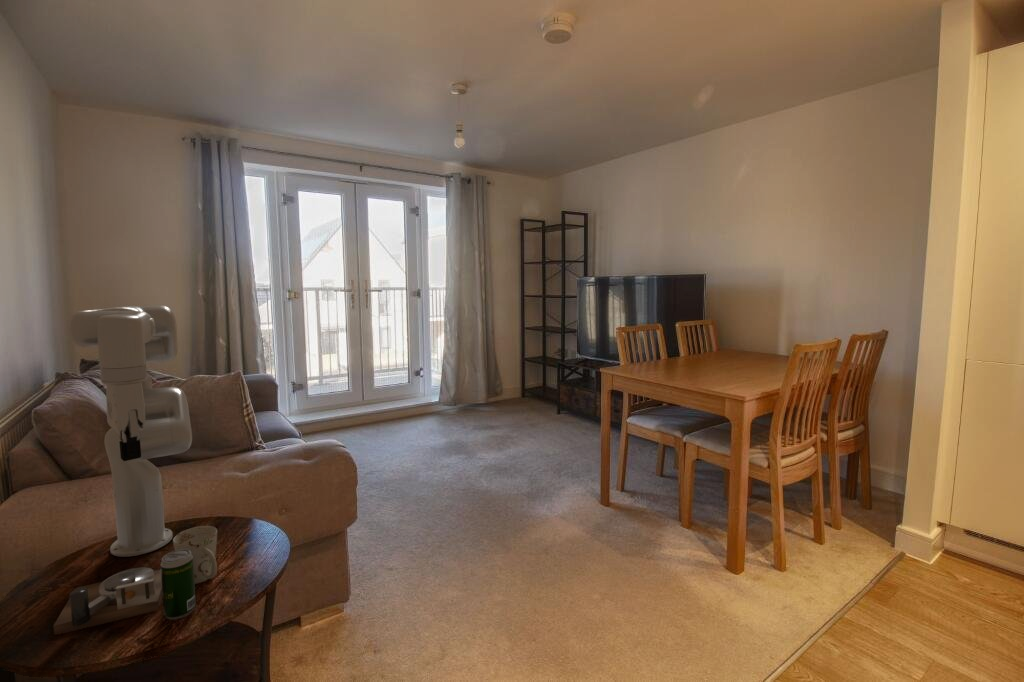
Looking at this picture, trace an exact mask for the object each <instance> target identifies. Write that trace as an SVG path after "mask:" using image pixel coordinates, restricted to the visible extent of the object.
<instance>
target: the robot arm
mask: <svg viewBox="0 0 1024 682" xmlns="http://www.w3.org/2000/svg"><path fill="white" fill-rule="evenodd" d="M70 318H71V319H70V321H69V326H68V327H69V334H70V337H71V339H72V341H73V343H74V344H75V345H77V346H78V347H82V348H93V347H95V348H96V347H97V349H98V350H97V351H98V361H99V362H98V363H99V370H100V382H101V384H102V385H106V386H105V391H106V392H105V395H106V396H105V398H106V399H105V400H106V401H105V402H106V421H107V422H106V423H107V424H108V425H109V427H110V428H109V430H107V432H106V433H105V435H104V448H105V451H106V455H107V457H108V461H109V462H108V463H109V466H110V471H111V477H112V478H111V479H112V487H113V500H114V511H115V513H114V514H115V521H116V522H115V524H116V534H117V539H116V540H115V541H114V542H113V543H112V544H111V545H110V549H109V550H110V554H111V555H113V556H116V557H120V558H123V557H124V558H126V557H135V556H141V555H145V554H148V553H152V552H154V551H156V550H159V549H160V548H162V547H164V546H166V545H167V544H168V543H170V542H171V540H173V538H174V537H173V536H174V535H173V531H172V530H171V529H170V528H166V527H165V515H164V512H165V511H164V499H163V498H164V497H163V488H162V475H161V472H160V470H159V469H158V467H157V466H155V465H154V464H153V463H152V462H151V461H150V460H149V459H153V458H160V457H167V456H172V455H177V454H183V453H185V452H187V451H188V450H189V449H190V448H191V446H192V441H193V432H192V431H193V430H192V425H191V424H192V423H191V418H190V417H191V416H190V408H189V403H188V398H187V395H186V393H185V392H184V390H183V389H182V388H180V387H176V386H175V387H174V386H167V387H157V388H153V380H152V378H151V377H150V376H149V375H148V373H147V372H148V371H147V364H149V363H151V364H153V363H164V362H169V361H173V360H174V359H175V358H176V357H177V354H178V330H177V329H178V327H177V321H176V316H175V314H174V312H173V310H172V309H171V308H170V307H168V306H166V305H161V304H160V305H157V304H156V305H155V304H154V305H121V306H117V307H109V308H108V307H107V308H106V307H105V308H99V309H89V310H79V311H76V312H75V313H73V315H72V316H71V317H70Z"/></svg>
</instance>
